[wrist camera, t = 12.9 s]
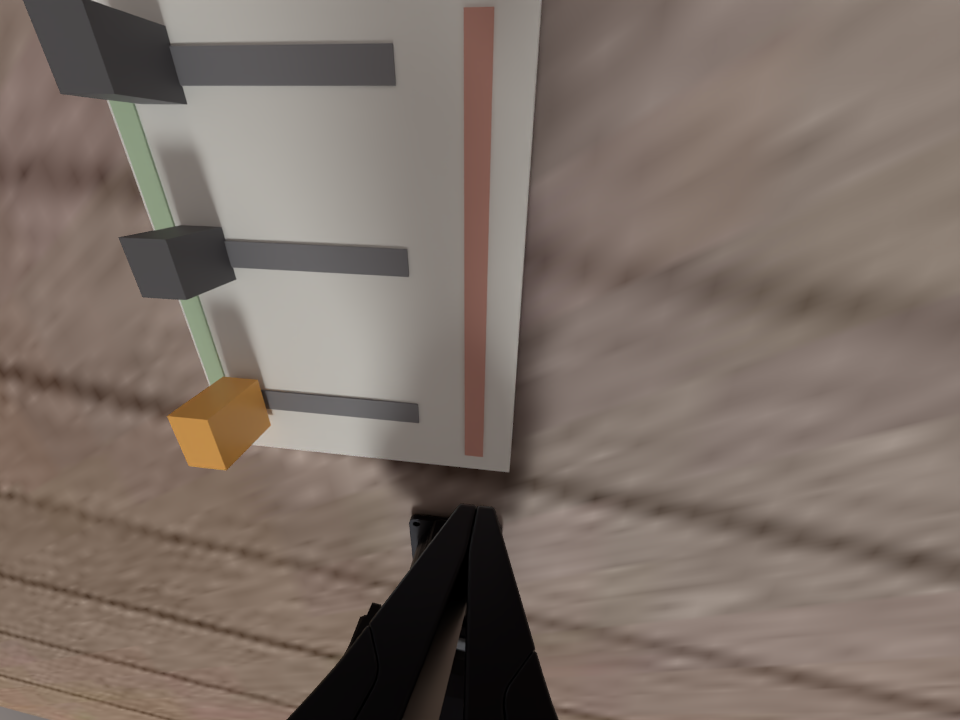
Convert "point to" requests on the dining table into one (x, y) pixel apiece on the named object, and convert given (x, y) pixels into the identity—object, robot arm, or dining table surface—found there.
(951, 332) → the dining table surface
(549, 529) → the dining table surface
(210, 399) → the block
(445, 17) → the breaker panel
